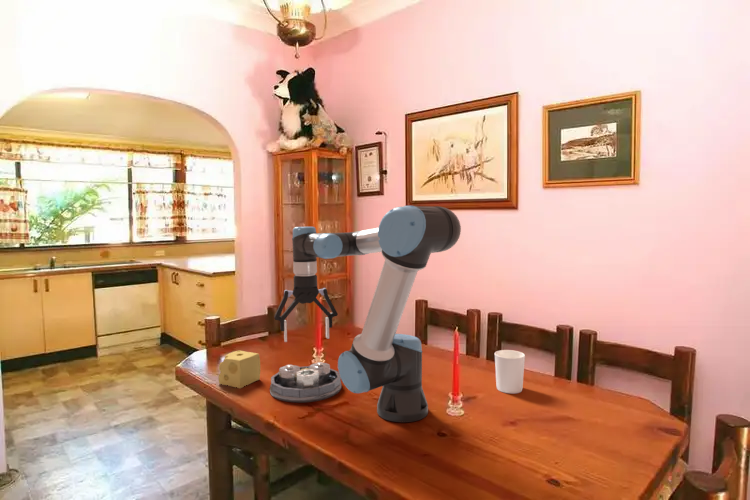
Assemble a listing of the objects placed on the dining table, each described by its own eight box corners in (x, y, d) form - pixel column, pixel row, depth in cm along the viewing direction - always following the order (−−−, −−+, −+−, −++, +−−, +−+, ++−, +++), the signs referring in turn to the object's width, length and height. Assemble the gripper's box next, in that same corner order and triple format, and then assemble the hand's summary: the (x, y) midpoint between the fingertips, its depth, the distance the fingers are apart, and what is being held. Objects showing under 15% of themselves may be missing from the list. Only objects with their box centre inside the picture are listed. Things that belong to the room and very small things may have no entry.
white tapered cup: (526, 395, 151) (526, 359, 150) (495, 393, 153) (495, 357, 152) (522, 384, 160) (523, 350, 160) (493, 383, 162) (493, 349, 162)
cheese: (218, 384, 164) (217, 356, 164) (240, 375, 174) (239, 348, 173) (240, 389, 159) (239, 360, 159) (261, 379, 169) (261, 352, 168)
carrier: (347, 398, 151) (346, 375, 150) (270, 406, 145) (270, 382, 144) (335, 373, 174) (334, 354, 173) (269, 380, 168) (268, 359, 167)
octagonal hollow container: (317, 385, 158) (316, 368, 157) (319, 393, 151) (319, 375, 150) (296, 387, 156) (295, 370, 156) (298, 395, 149) (297, 377, 149)
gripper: (341, 271, 157) (342, 333, 159) (265, 274, 151) (267, 339, 153) (345, 274, 150) (346, 339, 151) (265, 277, 144) (267, 345, 145)
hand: (306, 339), depth 152 cm, fingers open, 13 cm apart
